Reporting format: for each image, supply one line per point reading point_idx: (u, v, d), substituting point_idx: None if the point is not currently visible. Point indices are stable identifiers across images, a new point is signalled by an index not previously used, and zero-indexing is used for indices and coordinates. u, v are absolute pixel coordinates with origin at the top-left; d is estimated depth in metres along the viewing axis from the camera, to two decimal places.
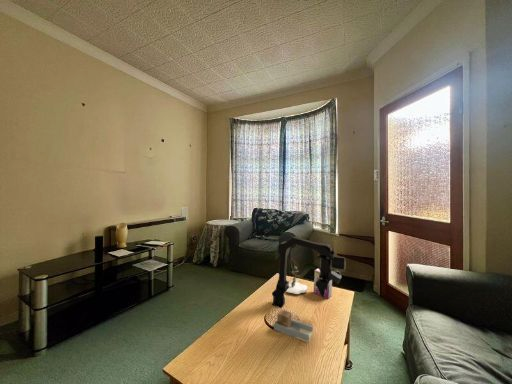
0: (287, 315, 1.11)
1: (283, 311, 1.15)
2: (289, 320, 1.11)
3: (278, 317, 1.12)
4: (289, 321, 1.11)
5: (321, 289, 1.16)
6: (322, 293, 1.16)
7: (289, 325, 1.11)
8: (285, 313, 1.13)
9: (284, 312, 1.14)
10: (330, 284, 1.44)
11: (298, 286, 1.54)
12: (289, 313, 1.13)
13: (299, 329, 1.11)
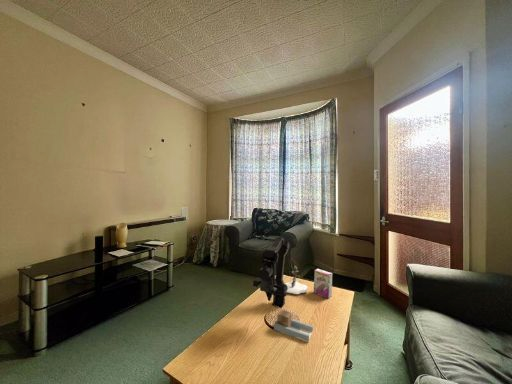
0: (287, 315, 1.11)
1: (283, 311, 1.15)
2: (289, 320, 1.11)
3: (278, 317, 1.12)
4: (289, 321, 1.11)
5: None
6: None
7: (289, 325, 1.11)
8: (285, 313, 1.13)
9: (284, 312, 1.14)
10: (330, 284, 1.44)
11: (298, 286, 1.54)
12: (289, 313, 1.13)
13: (299, 329, 1.11)
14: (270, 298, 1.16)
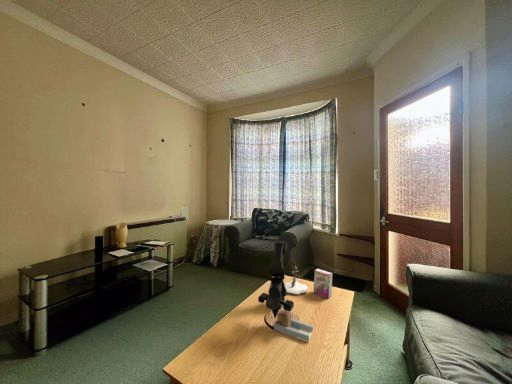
0: (287, 315, 1.11)
1: (283, 311, 1.15)
2: (289, 320, 1.11)
3: (278, 317, 1.12)
4: (289, 321, 1.11)
5: None
6: None
7: (289, 325, 1.11)
8: (285, 313, 1.13)
9: (284, 312, 1.14)
10: (330, 284, 1.44)
11: (298, 286, 1.54)
12: (289, 313, 1.13)
13: (299, 329, 1.11)
14: (276, 314, 1.15)
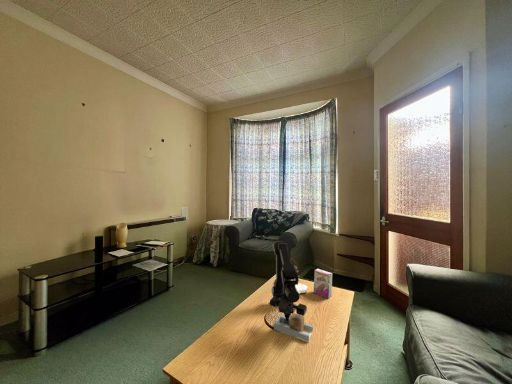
0: (300, 319, 1.08)
1: (295, 315, 1.11)
2: (302, 324, 1.08)
3: (290, 321, 1.09)
4: (302, 325, 1.08)
5: None
6: None
7: (302, 329, 1.08)
8: (297, 318, 1.09)
9: (296, 316, 1.11)
10: (330, 284, 1.44)
11: (298, 286, 1.54)
12: (302, 317, 1.10)
13: None
14: (288, 318, 1.12)
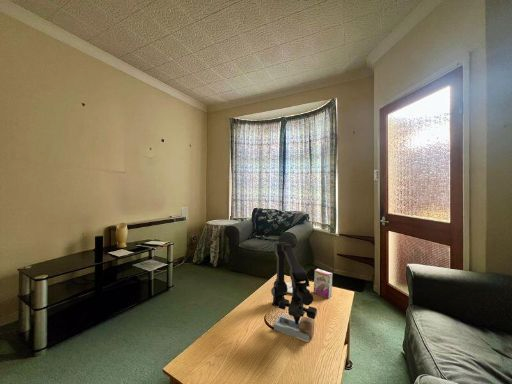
0: (310, 323, 1.06)
1: (305, 318, 1.09)
2: (312, 328, 1.06)
3: (300, 325, 1.06)
4: (312, 329, 1.06)
5: None
6: None
7: (312, 333, 1.06)
8: (308, 321, 1.07)
9: (306, 319, 1.08)
10: (330, 284, 1.44)
11: None
12: (312, 320, 1.07)
13: (299, 329, 1.11)
14: None
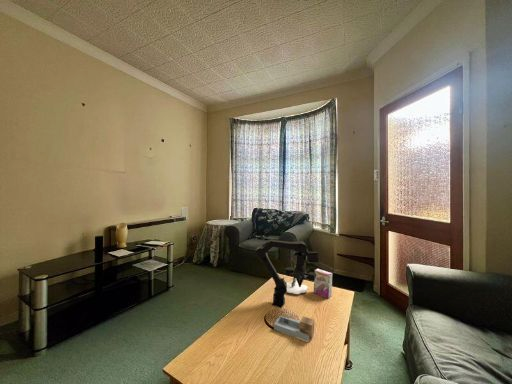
0: (310, 323, 1.06)
1: (305, 318, 1.09)
2: (312, 328, 1.06)
3: (300, 325, 1.06)
4: (312, 329, 1.06)
5: (298, 278, 1.35)
6: None
7: (312, 333, 1.06)
8: (308, 321, 1.07)
9: (306, 319, 1.08)
10: (330, 284, 1.44)
11: (298, 286, 1.54)
12: (312, 320, 1.07)
13: (299, 329, 1.11)
14: (301, 284, 1.33)
